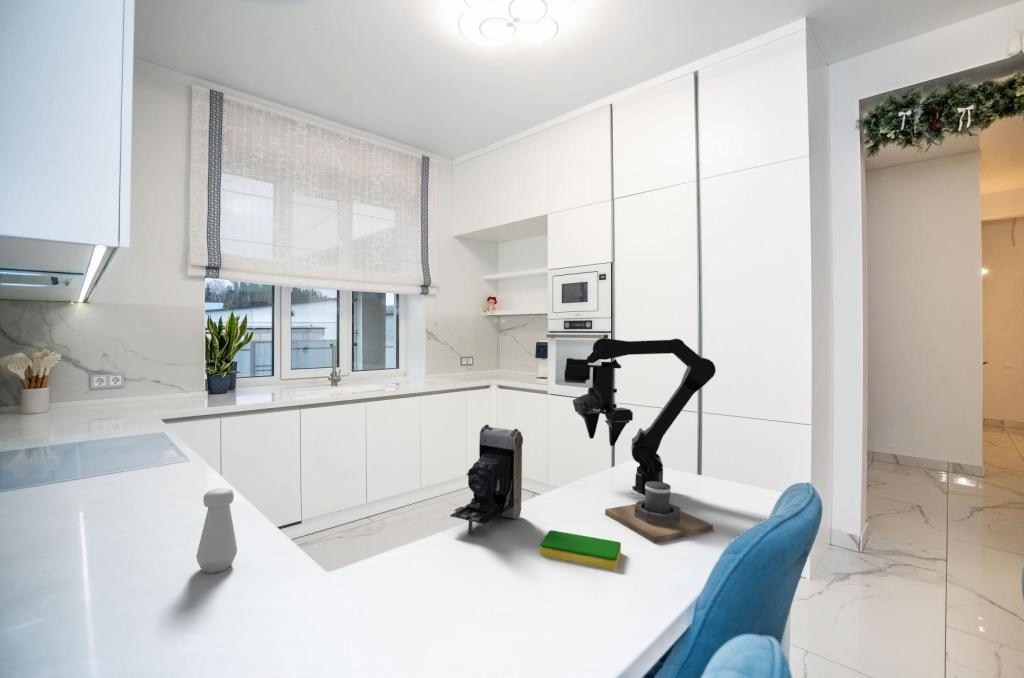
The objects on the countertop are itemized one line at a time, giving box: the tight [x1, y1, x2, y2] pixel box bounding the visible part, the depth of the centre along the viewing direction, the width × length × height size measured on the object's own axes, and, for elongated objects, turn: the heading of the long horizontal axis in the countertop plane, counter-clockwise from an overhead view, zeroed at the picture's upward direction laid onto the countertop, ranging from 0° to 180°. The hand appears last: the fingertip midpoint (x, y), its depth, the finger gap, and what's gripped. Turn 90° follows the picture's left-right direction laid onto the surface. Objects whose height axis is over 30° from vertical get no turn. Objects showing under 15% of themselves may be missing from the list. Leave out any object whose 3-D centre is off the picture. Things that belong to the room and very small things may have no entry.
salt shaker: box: [195, 487, 238, 574], centre depth 78 cm, size 6×6×13 cm
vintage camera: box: [449, 424, 524, 536], centre depth 99 cm, size 10×16×20 cm, turn 152°
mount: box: [604, 500, 714, 544], centre depth 103 cm, size 16×16×3 cm
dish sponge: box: [539, 529, 622, 570], centre depth 87 cm, size 7×14×2 cm, turn 70°
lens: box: [644, 481, 672, 514], centre depth 103 cm, size 5×5×7 cm
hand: (601, 442), depth 127 cm, fingers open, 9 cm apart
